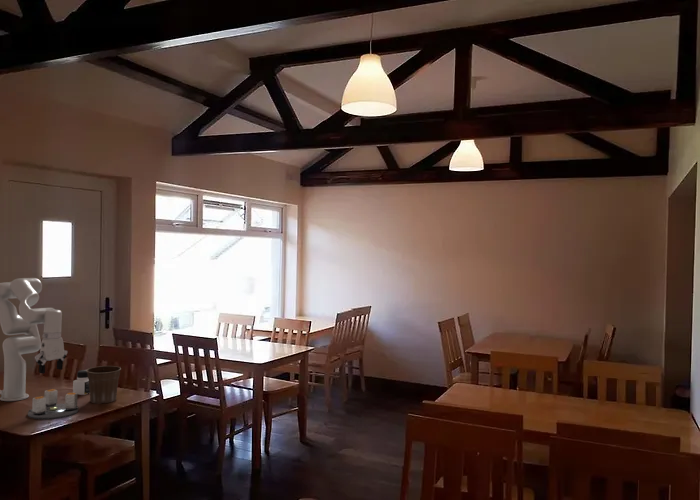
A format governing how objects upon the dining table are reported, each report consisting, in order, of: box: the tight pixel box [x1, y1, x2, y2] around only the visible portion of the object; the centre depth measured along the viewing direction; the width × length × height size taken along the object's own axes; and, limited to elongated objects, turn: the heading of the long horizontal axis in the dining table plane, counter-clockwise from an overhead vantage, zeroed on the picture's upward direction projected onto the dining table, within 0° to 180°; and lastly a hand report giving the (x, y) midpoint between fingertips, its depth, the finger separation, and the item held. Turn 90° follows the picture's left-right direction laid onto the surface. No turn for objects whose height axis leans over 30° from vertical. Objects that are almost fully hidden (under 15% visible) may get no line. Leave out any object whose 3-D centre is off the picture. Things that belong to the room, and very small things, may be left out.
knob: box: [31, 395, 46, 415], centre depth 259 cm, size 5×5×8 cm
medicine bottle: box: [72, 369, 90, 396], centre depth 303 cm, size 7×7×12 cm
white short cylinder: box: [64, 392, 78, 410], centre depth 267 cm, size 5×5×8 cm
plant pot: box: [85, 365, 122, 405], centre depth 289 cm, size 16×16×16 cm
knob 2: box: [43, 388, 59, 407], centre depth 272 cm, size 5×5×8 cm
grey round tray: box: [27, 403, 80, 421], centre depth 266 cm, size 21×21×2 cm
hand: (50, 371), depth 272 cm, fingers open, 9 cm apart
